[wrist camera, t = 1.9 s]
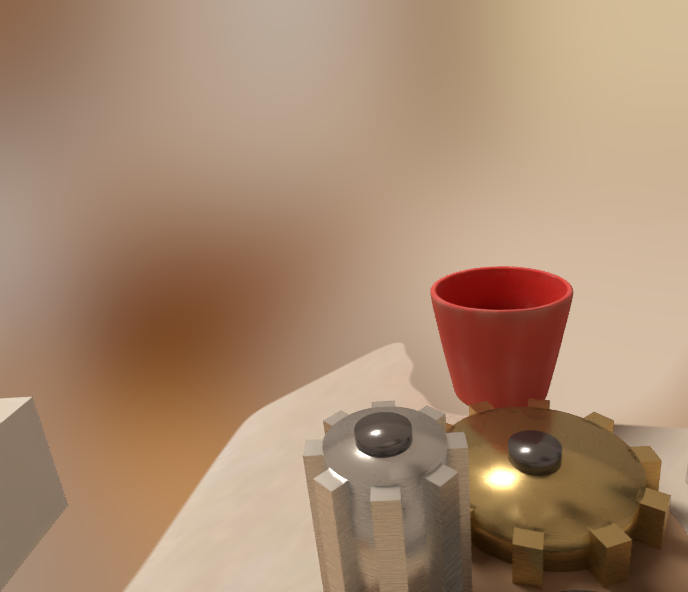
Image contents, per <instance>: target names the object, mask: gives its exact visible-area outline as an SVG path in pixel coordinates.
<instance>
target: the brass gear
mask: <svg viewBox="0 0 688 592" xmlns="http://www.w3.org/2000/svg"><path fill="white" fill-rule="evenodd" d="M549 404H550V401H549V400H539V399H529V400H528V407H505V408H497V409H495V408H494V407H493V406H492V405H491V404H490V403H489V402H488V401H484V402H480V403H476V404H472V405H469V417H466V418H464V419H462V420H461V421H459V422H457V423H456V424H454V425H451V424H447V423H446V433H454V432H464V434H465V437H466V441H467V445H468V454H469V489H470V524H471V549H472V548H473V547H476V548H478V549H480V550H481V551H483V552H485V553H487V554H488V555H490V556H492V557H495V558H497V559H499V560H502V561H504V562H507V563H510V564H512V583H515V584H519V585H524V586H528V587H533V588H537V589H541V590H542V577H543V571H548V572H574V571H583V570H588V571H589V572H590V573H591V574H592V575H593V576H594V577H595V579H596V580H597V581H598V582H599V583H600V584H601V585H602V587H603V588H605V587H608V586H611V585H614V584H617V583H620V582H623V581H626V580H628V576H629V566H630V556H631V547H632V546H633V545H634V543H635V542H636V541H638V542H640V543H643V544H645V545H648V546H651V547H653V548H656V549H659V550H661V548H662V545H663V541H664V538H665V535H666V529H667V521H668V513H669V506H670V498H671V495H668V494H665V493H662V492H659V491H658V488H659V480H660V471H661V462H662V461H661V459H660V458H659V457H658V456H657V454H656V453H655V452H654V451H653V450H652V448H651V447H650V446H641V447H629V446H628V445H627V444H626V443H625V442H624V441H623V440H621V439H620V438H619V437H617V436H616V435H615V434H613V427H614V421H613V420H611V419H609V418H607V417H604V416H602V415H600V414H598V413H595V412H593V413H592V414H590V415H588V416H586V417H585V418H581V417H578V416H575V415H572V414H569V413H565V412H561V411H557V410H551V409H549Z"/></svg>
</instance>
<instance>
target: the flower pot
mask: <svg viewBox="0 0 688 592" xmlns="http://www.w3.org/2000/svg"><path fill="white" fill-rule="evenodd" d="M572 298H573V288H572V286H571V285H570V284H569V283H568V282H567V281H566V280H564V279H563V278H561V277H559V276H557V275H554V274H551V273H548V272H545V271H541V270H536V269H530V268H523V267H508V266H499V267H482V268H474V269H469V270H464V271H460V272H456V273H453V274H450V275H447V276H445V277H443V278H441V279H440V280H438V281H437V282H435V283H434V284H433V286H432V287H431V299H432V304H433V309H434V313H435V318H436V322H437V326H438V330H439V334H440V338H441V343H442V346H443V350H444V354H445V358H446V361H447V365H448V369H449V372H450V376H451V379H452V383H453V387H454V390H455V393H456V395H457V396H458V398H459V399H460V400H461V401H462V402H464V403H465V404H466V405H468V406H469V405H472V404H476V403H480V402H484V401H488V402H489V403H490V404H491V405H492V406H493V407H494V408H495V409H497V408H505V407H528V400H529V399H539V400H545V398H546V396H547V393H548V390H549V386H550V382H551V379H552V375H553V372H554V369H555V365H556V361H557V357H558V354H559V349H560V346H561V342H562V338H563V334H564V330H565V327H566V323H567V319H568V315H569V311H570V306H571V302H572Z"/></svg>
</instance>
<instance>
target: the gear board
mask: <svg viewBox="0 0 688 592" xmlns="http://www.w3.org/2000/svg"><path fill="white" fill-rule="evenodd" d="M613 434H614V433H613ZM471 559H472V592H688V535H687V534H686V532H685V531H684V530H683V528H682V527H681V525H680V524H679V523H678V521H677V520H676V519H675V517H674V516H673V514H672V513H671V512H670V510H669V513H668V521H667V529H666V535H665V538H664V541H663V545H662V548H661V550H659V549H656V548H653V547H651V546H648V545H645V544H643V543H640V542H638V541H636V542H635V543H634V545H633V546H632V547H631V556H630V566H629V576H628V580H626V581H623V582H620V583H617V584H614V585H611V586H608V587H605V588H603V587H602V585H601V584H600V583H599V582H598V581H597V580H596V579H595V577H594V576H593V575H592V574H591V573H590V572H589V571H588V570H583V571H574V572H548V571H543V577H542V590H541V589H537V588H533V587H528V586H524V585H519V584H515V583H512V564H510V563H507V562H504V561H502V560H499V559H497V558H495V557H492V556H490V555H488V554H487V553H485V552H483V551H481V550H480V549H478V548H476V547H473V548H472V549H471Z"/></svg>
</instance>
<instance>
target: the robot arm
mask: <svg viewBox="0 0 688 592" xmlns="http://www.w3.org/2000/svg"><path fill="white" fill-rule="evenodd" d="M685 482H686V483H687V484H688V466H687V473H686V480H685ZM67 506H68V503H67V500H66V497H65V494H64V491H63V488H62V485H61V482H60V479H59V476H58V473H57V470H56V467H55V464H54V461H53V458H52V455H51V452H50V449H49V446H48V443H47V440H46V437H45V433H44V430H43V428H42V424H41V421H40V418H39V415H38V412H37V409H36V406H35V403H34V400H33V397H20V398H2V399H0V591H1V590H2V589H3V588H4V586H5V585H6V584H7V583H8V581H9V580H10V579H11V578H12V576H13V575H14V574H15V572H16V571H17V570H18V569H19V567H20V566H21V565H22V563H23V562H24V561H25V560H26V558H27V557H28V556H29V555H30V553H31V552H32V551H33V549H34V548H35V547H36V545H37V544H38V543H39V542H40V540H41V539H42V538H43V537H44V535H45V534H46V533H47V531H48V530H49V529H50V528H51V526H52V525H53V524H54V523H55V521H56V520H57V519H58V517H59V516H60V515H61V514H62V512H63V511H64V510H65V508H66V507H67Z"/></svg>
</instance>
